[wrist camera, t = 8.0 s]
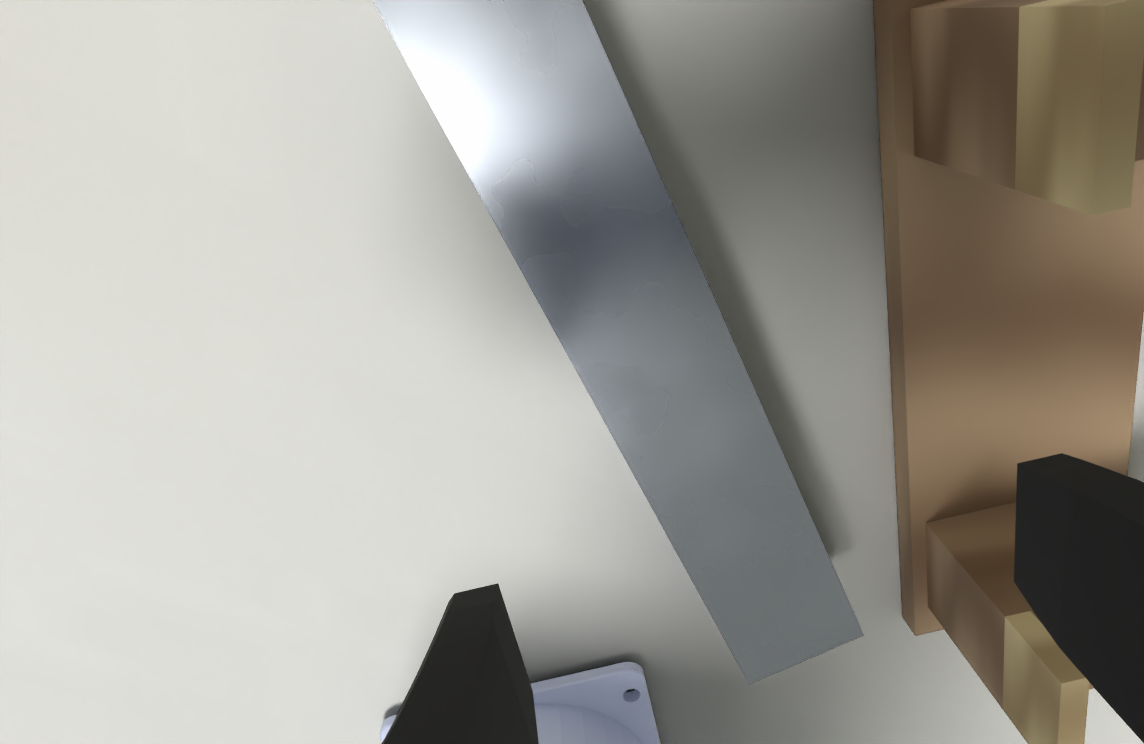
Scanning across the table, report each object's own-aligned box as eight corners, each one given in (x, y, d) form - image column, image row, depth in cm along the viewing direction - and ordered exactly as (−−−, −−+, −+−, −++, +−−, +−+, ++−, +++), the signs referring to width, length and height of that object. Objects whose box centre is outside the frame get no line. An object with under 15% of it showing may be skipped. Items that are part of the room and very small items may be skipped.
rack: (1097, 572, 24) (1294, 754, 18) (902, 617, 24) (1035, 813, 18) (1154, -106, 16) (1527, -174, 10) (871, -38, 16) (1082, -69, 11)
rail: (818, 557, 23) (863, 635, 20) (718, 601, 24) (749, 684, 21) (533, -74, 16) (541, -93, 13) (395, 4, 16) (372, 2, 13)
